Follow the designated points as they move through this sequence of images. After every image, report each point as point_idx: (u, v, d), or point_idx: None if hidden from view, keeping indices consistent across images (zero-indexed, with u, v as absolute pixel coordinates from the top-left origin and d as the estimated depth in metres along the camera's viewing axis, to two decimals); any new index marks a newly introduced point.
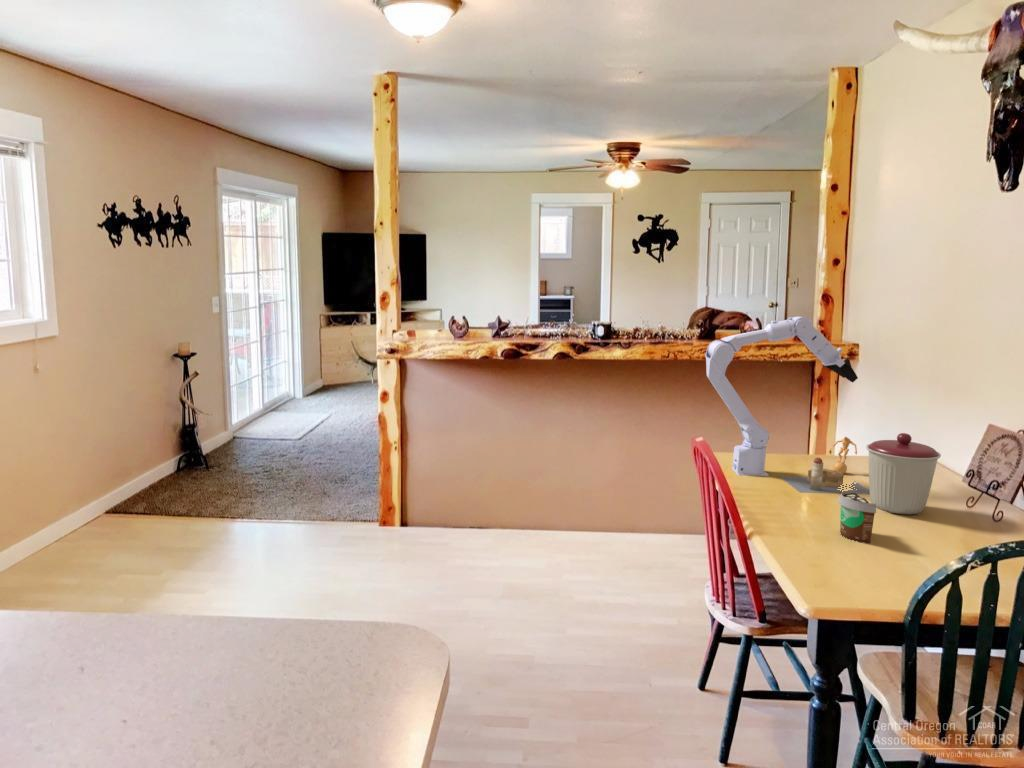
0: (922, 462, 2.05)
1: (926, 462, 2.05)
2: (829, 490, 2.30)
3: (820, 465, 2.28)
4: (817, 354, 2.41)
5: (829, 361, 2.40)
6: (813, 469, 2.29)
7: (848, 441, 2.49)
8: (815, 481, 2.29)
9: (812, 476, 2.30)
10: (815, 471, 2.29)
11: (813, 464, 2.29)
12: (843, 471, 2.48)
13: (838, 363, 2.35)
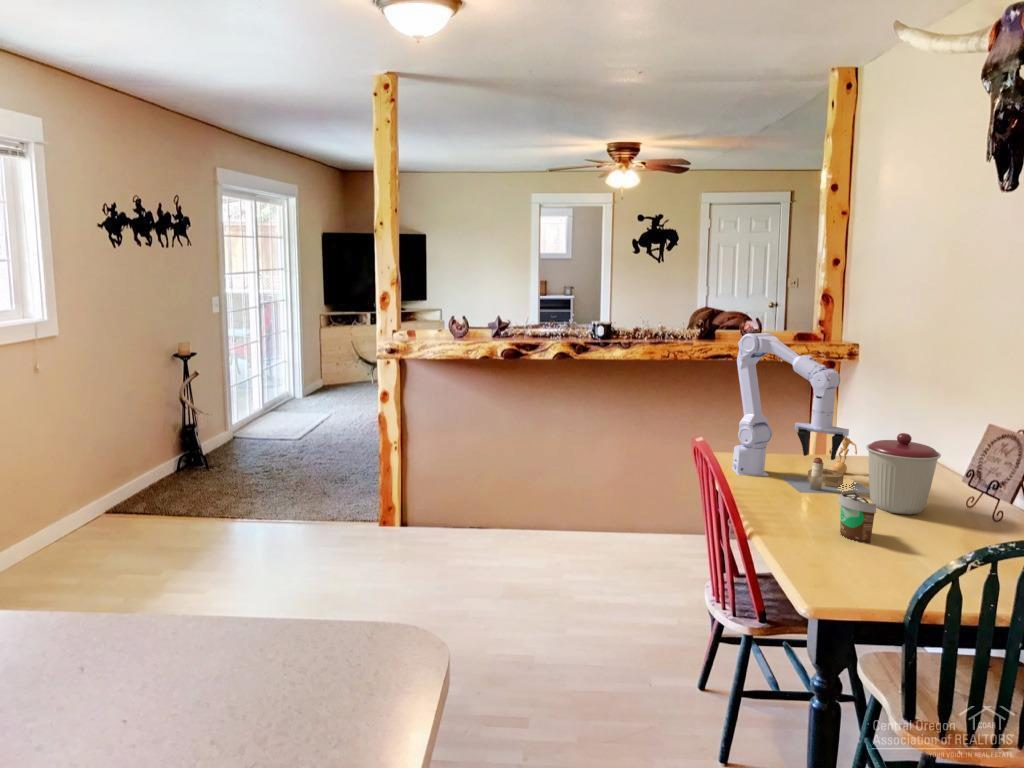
0: (922, 462, 2.05)
1: (926, 462, 2.05)
2: (829, 490, 2.30)
3: (820, 465, 2.28)
4: None
5: None
6: (813, 469, 2.29)
7: (848, 441, 2.49)
8: (815, 481, 2.29)
9: (812, 476, 2.30)
10: (815, 471, 2.29)
11: (813, 464, 2.29)
12: (843, 471, 2.48)
13: None
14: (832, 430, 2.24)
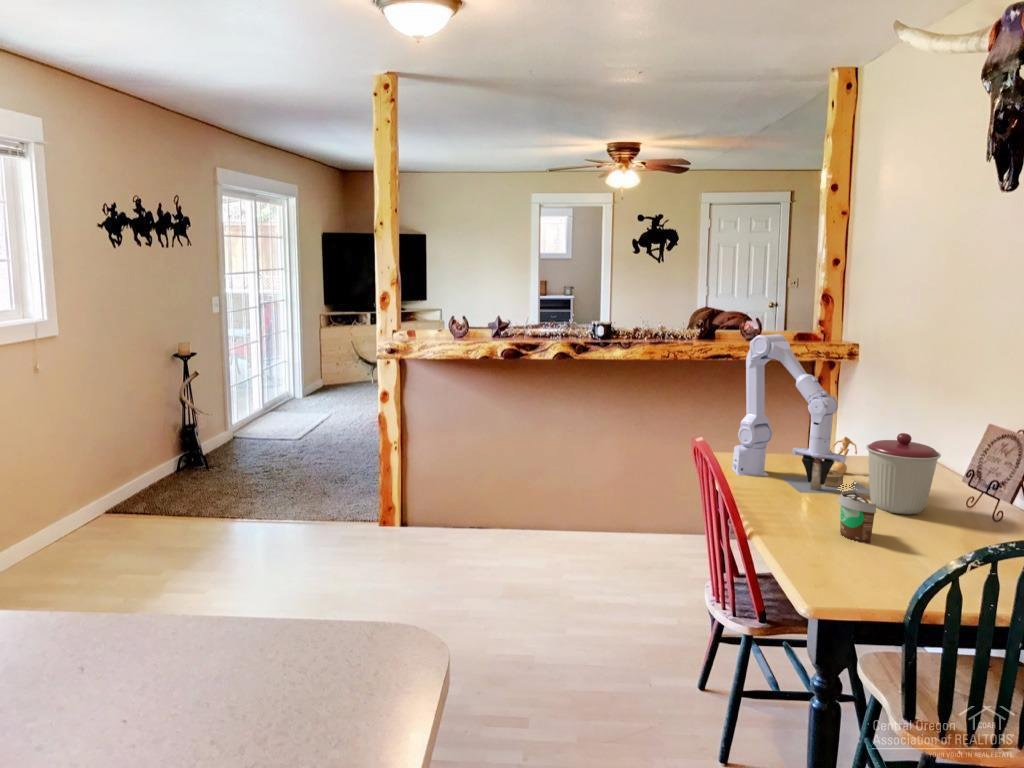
0: (922, 462, 2.05)
1: (926, 462, 2.05)
2: (829, 490, 2.30)
3: (820, 465, 2.28)
4: None
5: None
6: (813, 469, 2.29)
7: (848, 441, 2.49)
8: (815, 481, 2.29)
9: (812, 476, 2.30)
10: (815, 471, 2.29)
11: (813, 464, 2.29)
12: (843, 471, 2.48)
13: None
14: (829, 456, 2.25)
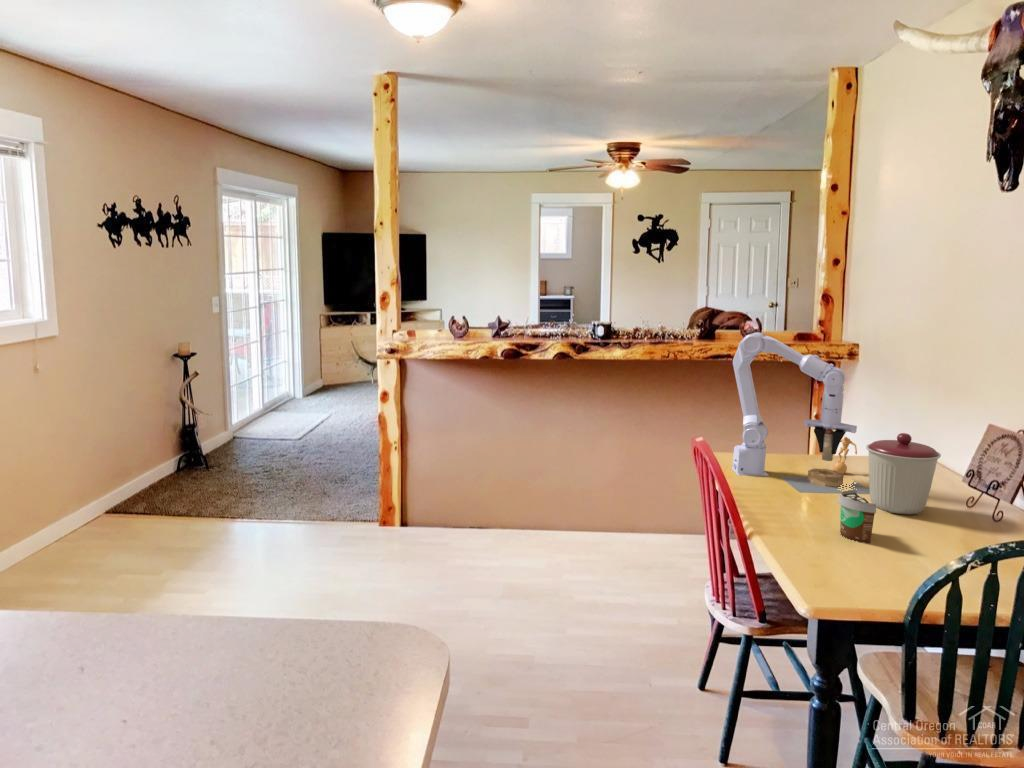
0: (922, 462, 2.05)
1: (926, 462, 2.05)
2: (829, 490, 2.30)
3: (831, 436, 2.35)
4: None
5: None
6: (824, 440, 2.36)
7: (848, 441, 2.49)
8: (827, 452, 2.36)
9: (823, 447, 2.37)
10: (826, 442, 2.35)
11: (824, 435, 2.36)
12: (843, 471, 2.48)
13: None
14: (840, 427, 2.32)
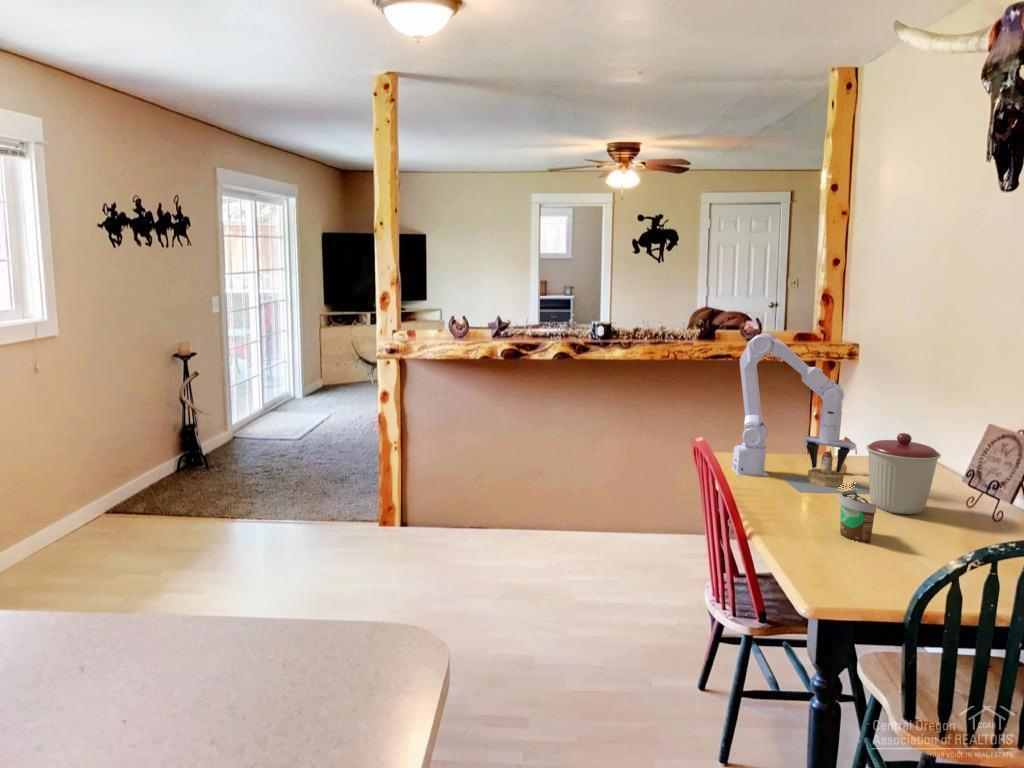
0: (922, 462, 2.05)
1: (926, 462, 2.05)
2: (829, 490, 2.30)
3: (829, 459, 2.36)
4: None
5: None
6: (823, 463, 2.37)
7: (848, 441, 2.49)
8: (825, 474, 2.37)
9: (821, 469, 2.38)
10: (824, 464, 2.37)
11: (823, 458, 2.37)
12: (843, 471, 2.48)
13: None
14: (839, 444, 2.33)
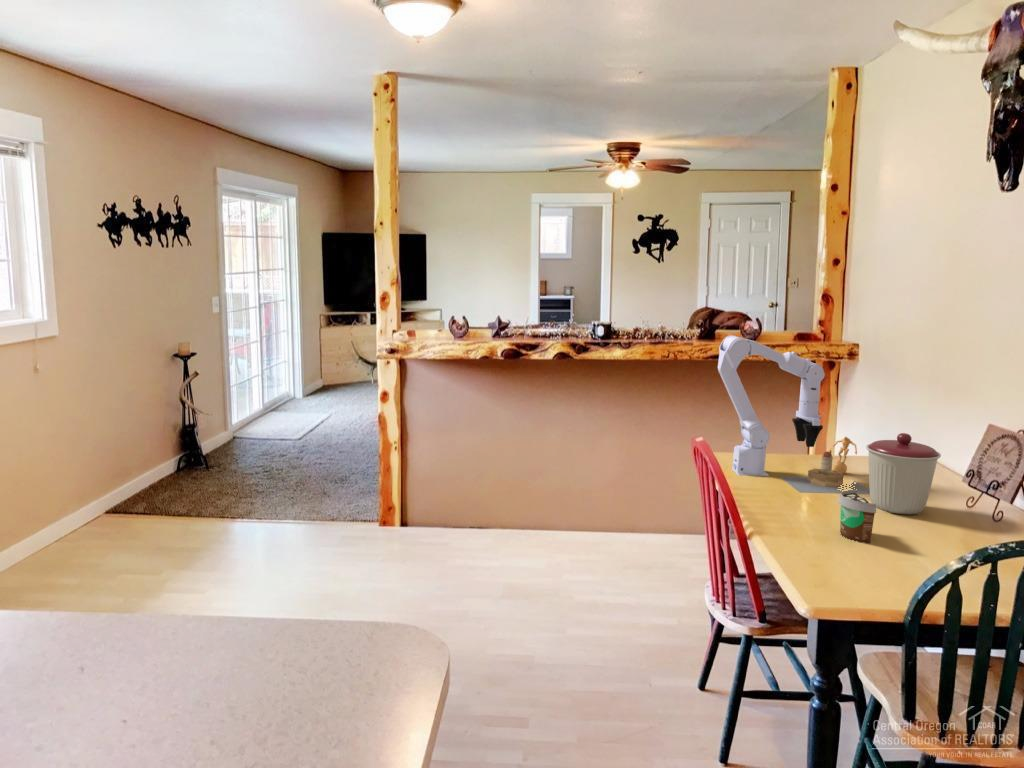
0: (922, 462, 2.05)
1: (926, 462, 2.05)
2: (829, 490, 2.30)
3: (829, 459, 2.36)
4: (803, 403, 2.43)
5: (806, 416, 2.43)
6: (823, 463, 2.37)
7: (848, 441, 2.49)
8: (825, 474, 2.37)
9: (821, 469, 2.38)
10: (824, 464, 2.37)
11: (823, 458, 2.37)
12: (843, 471, 2.48)
13: (815, 421, 2.39)
14: None
